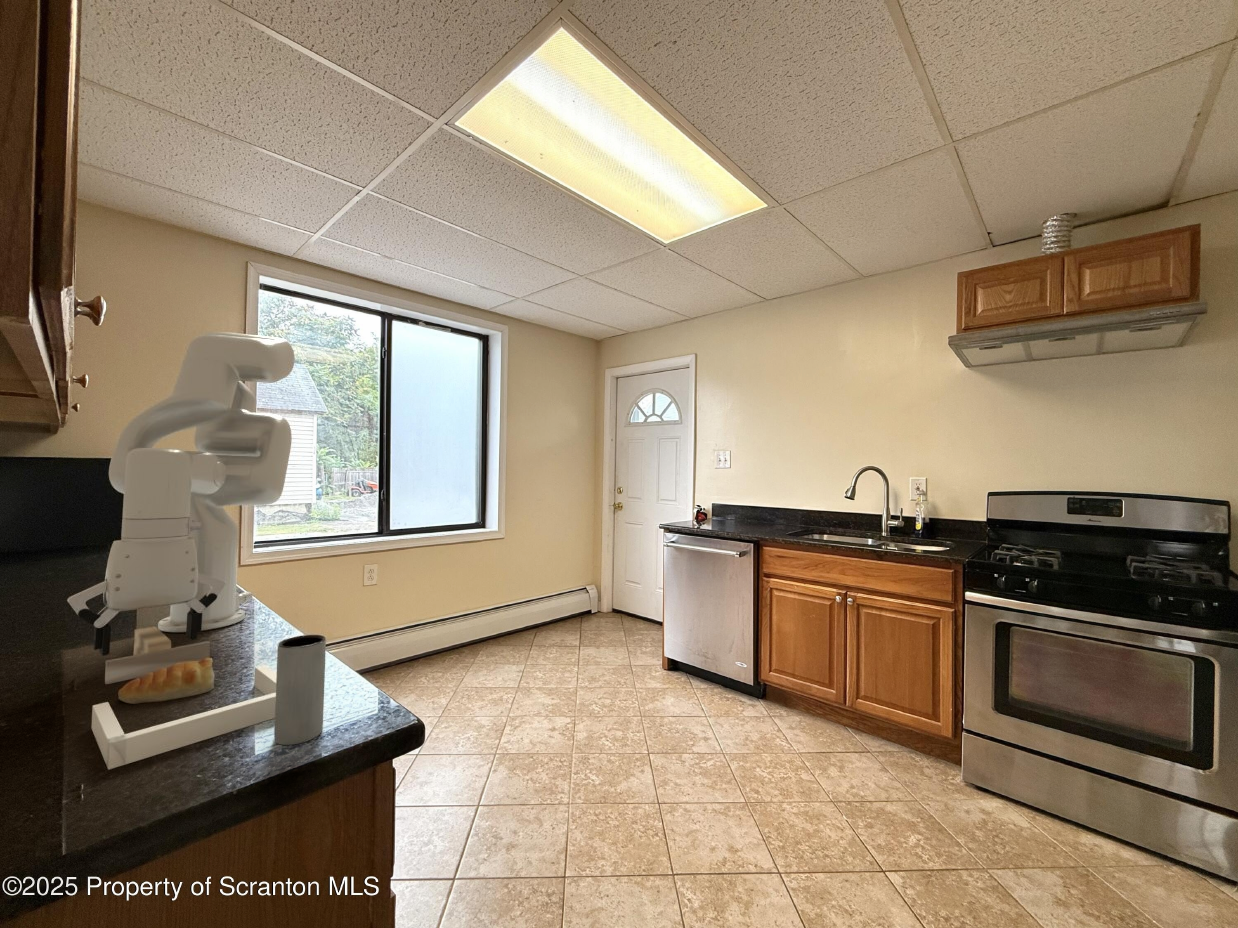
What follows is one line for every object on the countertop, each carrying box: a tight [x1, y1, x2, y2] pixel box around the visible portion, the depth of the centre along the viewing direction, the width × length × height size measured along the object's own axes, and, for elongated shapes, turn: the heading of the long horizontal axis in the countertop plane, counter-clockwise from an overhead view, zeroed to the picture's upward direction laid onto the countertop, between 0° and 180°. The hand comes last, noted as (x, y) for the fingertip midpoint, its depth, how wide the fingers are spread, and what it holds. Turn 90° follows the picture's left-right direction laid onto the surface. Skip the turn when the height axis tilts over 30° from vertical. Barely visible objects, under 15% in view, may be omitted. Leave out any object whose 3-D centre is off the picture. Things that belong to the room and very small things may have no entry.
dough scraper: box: [104, 625, 211, 685], centre depth 76 cm, size 12×11×4 cm
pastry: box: [117, 657, 215, 705], centre depth 66 cm, size 9×7×4 cm
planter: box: [273, 634, 327, 746], centre depth 56 cm, size 4×4×10 cm
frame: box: [91, 664, 277, 770], centre depth 59 cm, size 12×16×2 cm
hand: (149, 645), depth 75 cm, fingers open, 9 cm apart
